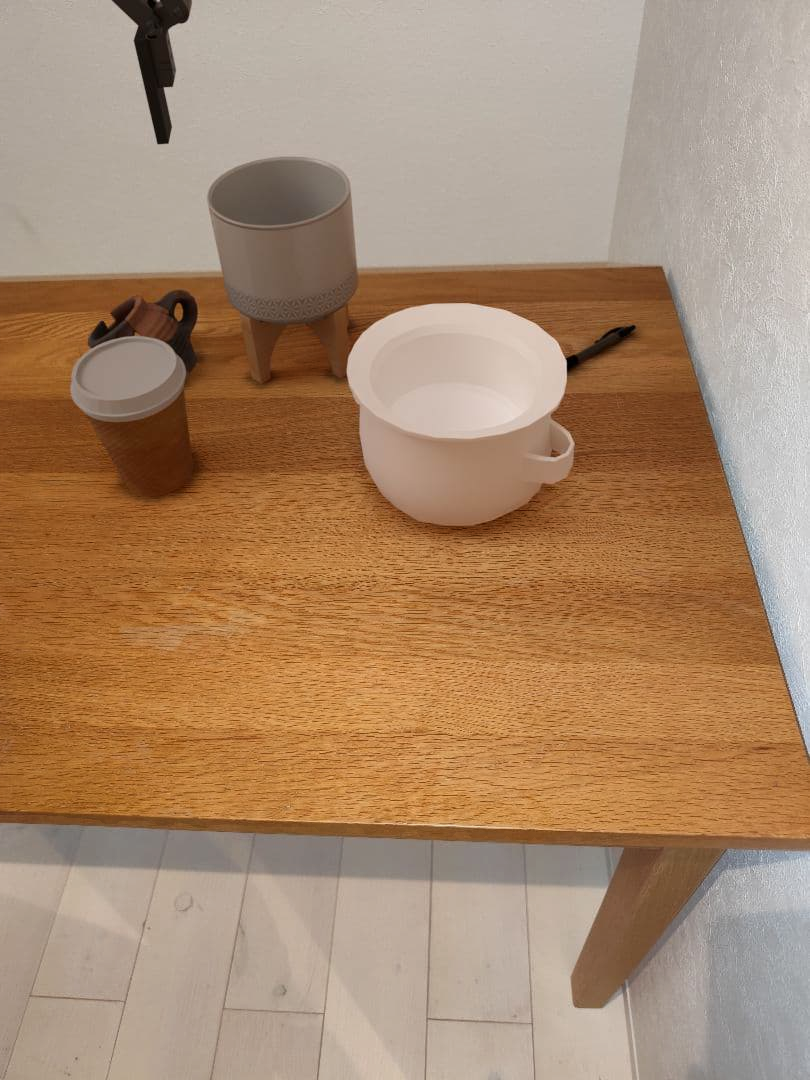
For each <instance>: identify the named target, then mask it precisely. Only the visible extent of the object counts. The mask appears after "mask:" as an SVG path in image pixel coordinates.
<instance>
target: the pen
mask: <svg viewBox="0 0 810 1080" xmlns="http://www.w3.org/2000/svg"><path fill="white" fill-rule="evenodd" d="M636 329H637V326H636V324H631V325H629V326H628V325H625V326H617V327H614V328H612V329H610V330H608V331H606V332H605V333H604V334H603V335H601V337H600V339H597V340H595V341H594V342H593V344H592V345H590V346H588V347H586V348H584V349H583V350H581V351H579V352H577V353H575V354H571V355H570V356H567V357H565V359H566V361H567V371H569V370H571V369H572V368H574V367H575V366H577V365H579V363H580V362H582V361H584V360H586V359H588V358H591V356H594V355H595V354H597V353H599V352H600V351H602V350H604V349H606V348H607V347H610V346H612V345H613V344H615V343H617V342H619V341H621V340H623V339H625V338H626V337H628V336H630V335H631V334H632V332H634V331H635V330H636Z"/></svg>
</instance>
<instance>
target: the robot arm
mask: <svg viewBox="0 0 810 1080" xmlns="http://www.w3.org/2000/svg"><path fill="white" fill-rule="evenodd" d="M111 1H112V2H113V4H115V5H116V6H117V7H118V8H119V9H120V10H121V11H122V12H123V13H124V14H125V15H126V16H127V17H128V18H129V19H130V20H132V22H134V24H136V25H137V28H136V31H135V35H134V38H133V43H134V49H135V52H136V58H137V61H138V66H139V70H140V75H141V79H142V83H143V87H144V91H145V97H146V101H147V105H148V111H149V115H150V118H151V122H152V127H153V131H154V135H155V140H156V144H157V145H169V143H170V138H171V134H172V128H173V125H172V120H171V115H170V111H169V106H168V101H167V97H166V93H165V88H174V83H175V79H176V74H177V68H176V63H175V57H174V52H173V49H172V48H173V47H172V43H171V38H170V34H169V31H170V29H171V28H173V27H174V26H177V25H178V24H181V25H182V24H185V23H187V22H188V20H189V19H190V15H191V11H192V7H193V0H111Z"/></svg>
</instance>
